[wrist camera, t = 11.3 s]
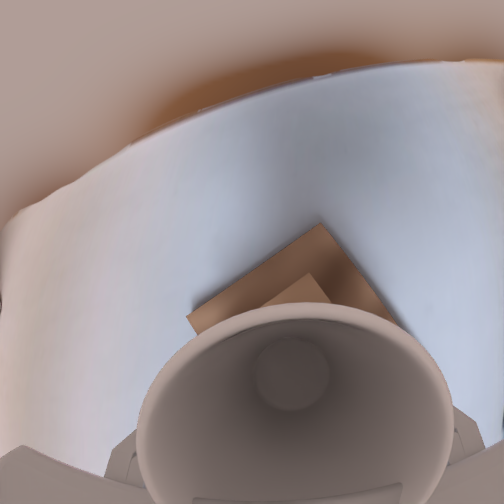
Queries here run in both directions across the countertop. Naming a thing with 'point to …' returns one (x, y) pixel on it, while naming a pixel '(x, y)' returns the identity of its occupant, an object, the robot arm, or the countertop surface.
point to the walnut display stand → (295, 283)
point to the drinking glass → (296, 410)
